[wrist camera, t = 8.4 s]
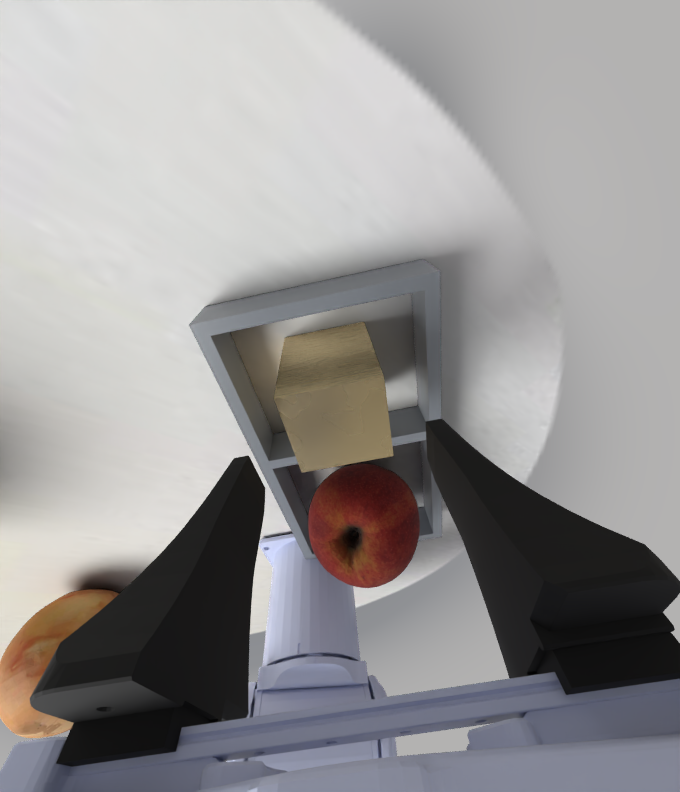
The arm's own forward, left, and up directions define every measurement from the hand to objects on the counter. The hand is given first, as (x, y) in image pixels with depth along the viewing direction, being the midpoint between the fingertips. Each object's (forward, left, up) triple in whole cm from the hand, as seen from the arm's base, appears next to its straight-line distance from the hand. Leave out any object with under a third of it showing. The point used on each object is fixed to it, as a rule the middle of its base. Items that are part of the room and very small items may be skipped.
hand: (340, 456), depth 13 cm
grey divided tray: (-5, 0, -7) cm, 9 cm away
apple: (-10, 0, -8) cm, 13 cm away
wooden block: (0, 0, -7) cm, 7 cm away
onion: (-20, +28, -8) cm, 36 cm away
